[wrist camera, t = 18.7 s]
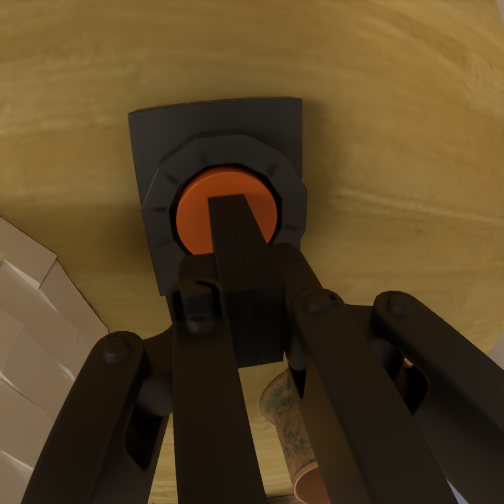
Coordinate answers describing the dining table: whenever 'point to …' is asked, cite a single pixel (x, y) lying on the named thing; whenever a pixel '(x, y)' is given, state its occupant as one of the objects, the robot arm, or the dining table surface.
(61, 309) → the basket
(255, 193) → the button
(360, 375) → the robot arm
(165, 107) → the button base
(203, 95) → the dining table surface
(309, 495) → the mug
